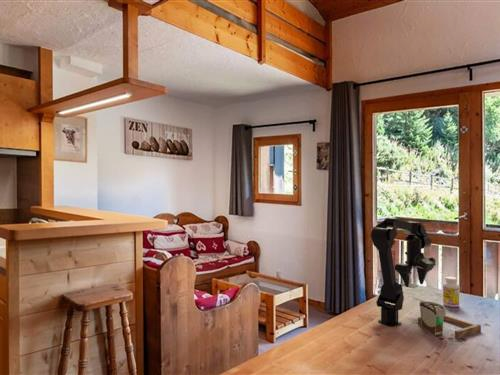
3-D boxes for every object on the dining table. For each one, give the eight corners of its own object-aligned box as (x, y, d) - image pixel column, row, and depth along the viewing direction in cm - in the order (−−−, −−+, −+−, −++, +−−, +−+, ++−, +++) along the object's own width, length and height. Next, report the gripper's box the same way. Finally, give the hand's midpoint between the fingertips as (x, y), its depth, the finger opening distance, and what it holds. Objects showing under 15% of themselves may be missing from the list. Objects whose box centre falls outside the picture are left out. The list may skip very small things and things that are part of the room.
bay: (457, 338, 135) (457, 331, 135) (417, 323, 150) (417, 317, 150) (480, 331, 142) (480, 325, 142) (440, 317, 157) (440, 312, 157)
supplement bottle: (439, 304, 175) (439, 276, 175) (449, 302, 178) (449, 275, 178) (452, 308, 169) (452, 280, 169) (462, 306, 172) (462, 278, 172)
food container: (453, 337, 136) (453, 310, 136) (437, 338, 136) (437, 311, 136) (434, 325, 148) (433, 300, 148) (419, 325, 148) (419, 300, 148)
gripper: (415, 255, 152) (415, 293, 152) (444, 251, 160) (444, 287, 160) (393, 250, 162) (393, 286, 162) (422, 247, 170) (422, 281, 170)
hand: (414, 285), depth 163 cm, fingers open, 9 cm apart
